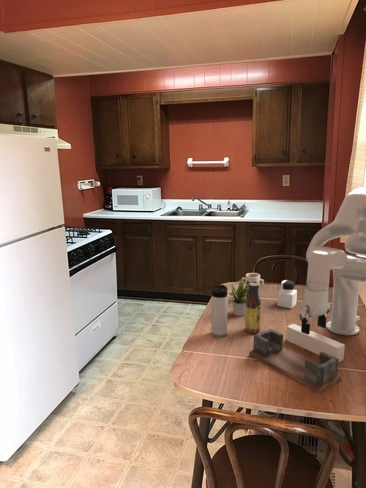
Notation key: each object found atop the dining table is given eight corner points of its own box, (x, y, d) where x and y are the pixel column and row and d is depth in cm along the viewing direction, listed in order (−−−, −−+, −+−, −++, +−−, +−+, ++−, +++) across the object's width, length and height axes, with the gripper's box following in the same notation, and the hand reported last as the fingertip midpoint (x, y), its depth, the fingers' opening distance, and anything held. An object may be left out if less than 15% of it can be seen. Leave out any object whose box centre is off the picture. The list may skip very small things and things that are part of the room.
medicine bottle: (296, 304, 190) (297, 280, 187) (291, 309, 184) (293, 284, 181) (281, 301, 193) (283, 278, 191) (277, 306, 188) (278, 282, 185)
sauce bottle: (260, 334, 159) (261, 287, 154) (244, 333, 160) (245, 286, 155) (260, 327, 165) (262, 282, 160) (245, 326, 166) (246, 281, 162)
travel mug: (229, 331, 161) (230, 285, 157) (223, 338, 155) (224, 290, 151) (214, 329, 164) (215, 283, 159) (209, 335, 158) (209, 288, 153)
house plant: (263, 319, 173) (264, 283, 170) (234, 323, 169) (235, 287, 166) (249, 307, 187) (250, 274, 183) (221, 310, 183) (222, 277, 179)
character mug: (239, 301, 195) (240, 275, 192) (243, 296, 201) (243, 271, 198) (261, 303, 191) (262, 278, 188) (264, 298, 197) (265, 274, 194)
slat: (286, 340, 154) (286, 326, 153) (292, 337, 156) (293, 323, 155) (336, 363, 137) (338, 348, 135) (343, 360, 139) (344, 344, 138)
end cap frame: (271, 345, 150) (272, 327, 148) (340, 379, 127) (342, 358, 125) (249, 355, 143) (249, 336, 141) (318, 392, 120) (320, 370, 118)
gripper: (322, 278, 149) (318, 321, 152) (293, 286, 138) (289, 332, 142) (340, 283, 143) (336, 328, 146) (311, 292, 132) (307, 339, 136)
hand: (313, 330), depth 144 cm, fingers open, 9 cm apart
